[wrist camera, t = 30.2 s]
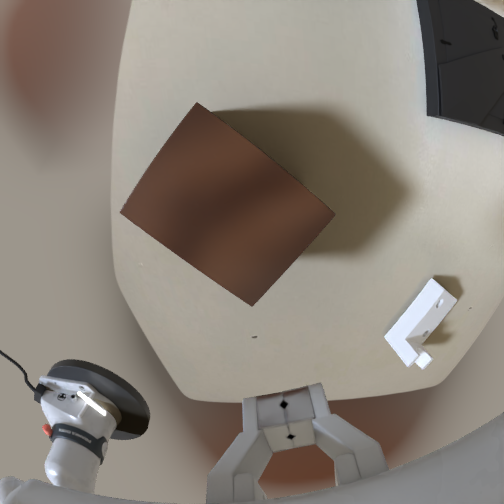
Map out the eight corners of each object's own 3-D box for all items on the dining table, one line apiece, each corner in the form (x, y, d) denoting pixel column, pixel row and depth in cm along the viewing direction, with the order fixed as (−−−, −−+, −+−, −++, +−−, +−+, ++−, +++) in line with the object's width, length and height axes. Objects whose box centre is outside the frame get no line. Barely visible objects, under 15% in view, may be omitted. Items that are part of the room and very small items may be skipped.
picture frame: (426, 115, 35) (529, 145, 36) (442, 115, 31) (544, 148, 32) (412, -17, 26) (521, 38, 27) (425, -26, 22) (535, 36, 23)
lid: (334, 212, 29) (336, 214, 28) (252, 303, 32) (252, 307, 31) (197, 102, 25) (196, 101, 24) (122, 210, 28) (119, 212, 27)
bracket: (402, 342, 51) (423, 369, 45) (383, 336, 48) (407, 366, 41) (445, 289, 47) (471, 313, 41) (431, 277, 44) (460, 304, 37)
